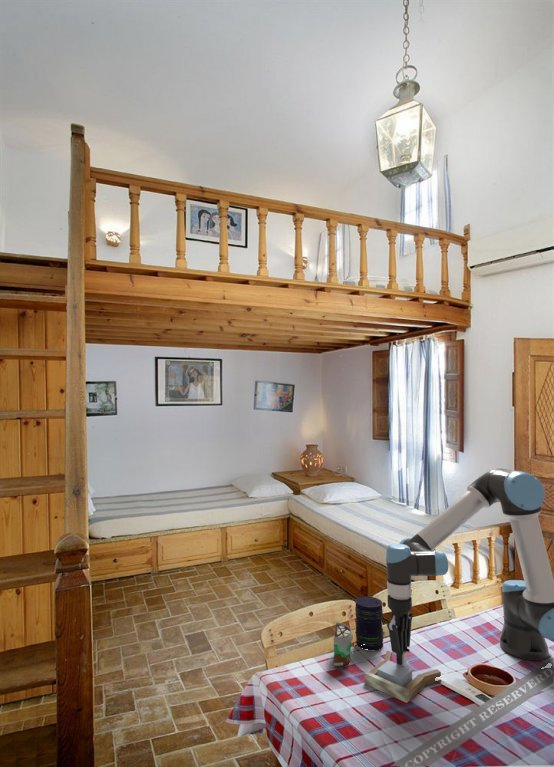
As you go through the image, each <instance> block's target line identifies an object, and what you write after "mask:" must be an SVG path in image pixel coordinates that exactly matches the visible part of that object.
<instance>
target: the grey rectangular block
mask: <svg viewBox="0 0 554 767" xmlns="http://www.w3.org/2000/svg"><path fill="white" fill-rule="evenodd" d="M377 676H379V677H381V678H384V679H386V680H388V681H390V682H393V683H395V684H397V685H399V686H402V687H405V686H406V685H407V684H408V683H410V682H411V681H412V680H413V669H411V668H408V666H407V667H404V666H402V665H399V664H397V663H396V662H393V661H392V660H391V661H389V660H388V661H387V662H386V663H384V664H383V665H382V666H381V667H379V668H378V669H377Z"/></svg>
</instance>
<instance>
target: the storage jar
mask: <svg viewBox="0 0 554 767" xmlns="http://www.w3.org/2000/svg"><path fill="white" fill-rule="evenodd" d="M383 612H384V611H383V601H382V600H381V599H380V598H378V597H375V596H374V597H373V596H360V597H356V598H355V613H354V614H355V618H356V626H355V637H356V638H355V640H356V643H355V644H356V646H357V647H358V648H359V647H360V648H359V649H361V648H363V649H368V650H378V651H380V650H382V649H383V648H384V630H383V618H384V615H383ZM363 644H365V645H363ZM361 645H362V646H361ZM382 647H383V648H382ZM381 648H382V649H381ZM363 649H362V650H363ZM379 649H380V650H379Z"/></svg>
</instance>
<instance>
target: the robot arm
mask: <svg viewBox="0 0 554 767" xmlns="http://www.w3.org/2000/svg"><path fill="white" fill-rule="evenodd" d="M545 498H546V491H545V487H544V485H543V484H542V482H541V480H540V479H539V478H537V477H536V476H535V475H533V474H531V473H529V472H525V471H523V470H522V471H521V470H511V469H505V468H495V469H491V470H489V471H487V472H485V473H483V474H481V475H480V476H479V477H478V478H477V479H475V480H474V481H473V482H472V483H470V484H469V485H468V486H467V487H466V491H465V493H463V494H461V496H459V497H458V498H457V499H456V500H455V501H454V502H452V504H450V505H449V506H447V508H445V509H444V510H443V511H442V512H440V513H439V515H437V516H436V517H434V519H432V520H431V521H430V522H428V524H427V525H425V526H424V527H423V528H422V529H421V530H419V531H418V532H417V533H416V534H415V535H413V537H411V538H409V537H406V538H403V539H401V540H400V542H399V543H391V544H389V545H388V546H386V552H385V553H386V555H385V556H386V558H385V561H386V586H387V589H386V590H387V598H386V599H387V607H388V609H389V610H390V611H391V614H390V619H391V620H390V622H387V623H386V627H387V630H388V635H389V641H390V646H391V647H390V648H391V652H392V653H394V654H395V656H396V657H395V658H396V659H395V660H396V662H395V663H397V664H399V665H402V666H404V667H407V668H408V666H407V664H408V663H407V653H410V649H409V648H410V647H411V646H410V645H411V636H412V635H411V633H412V632H411V631H412V622H413V615H414V614H413V613H411V610H413V603H412V602H413V599H412V598H413V597H412V595H413V594H412V592H413V591H412V577H431V576H432V577H438V576H445V575H447V574H448V572H449V560H448V557H447V555H446V553H445V552H444V551H442V550H436V548H437V547H440V545H441V544H443V542H445V541H446V540H448V538H450V537H451V536H452V535H453V534H455V532H457V531H458V530H459V529H460V528H462V527H463V526H464V525H465V524H466V523H467V522H468V521H470V519H472V518H473V517H474V516H475V515H476V514H478V513H479V512H480V511H481V510H482V509H488V508H490V507H491V506H492V505H494V504H496V503H500V507H501V510H502V511H501V512H502V514H503V515H504V516H506V518H508V519H509V523H510V527H511V530H512V531H511V532H512V535H513V539H514V542H515V543H514V544H515V549H516V552H517V555H518V560H519V564H520V568H521V572H522V576H523V580H522V579H521V580H520V579H519V580H518V579H511V580H505V581H503V583H502V586H501V593H502V609H503V625H502V629H501V632H500V636H499V646H500V648H501V650H503V651H504V652H505V653H506V654H509V655H512V656H513V657H516V658H519V659H523V660H527V661H544V660H547V658H549V656H550V654H549V653H550V652H549V646H548V644H547V642H546V641H547V640H549V641H551V642H552V643H554V574H553V573H552V572H553V571H552V568H551V564H550V559H549V556H548V552H547V547H546V545H545V544H546V542H545V540H544V535H543V531H542V527H541V523H540V520H539V515H540V514H541V513H542V511H543V509H542V505H543V504H544V500H545ZM546 639H547V640H546Z"/></svg>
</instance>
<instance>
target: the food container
mask: <svg viewBox="0 0 554 767" xmlns="http://www.w3.org/2000/svg"><path fill="white" fill-rule="evenodd" d="M353 640H354V634H353V631H352V628H351V626H349V625H347V624H345V623H342V622H335V632H334V636H333V663H334V665H333V667H334V669H342V668H341V667H343V668H345V666H346V667H348V666H349V665H350V664H349V663H351V655H352V654H351V653H352V651H351V650H352V641H353Z"/></svg>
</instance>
